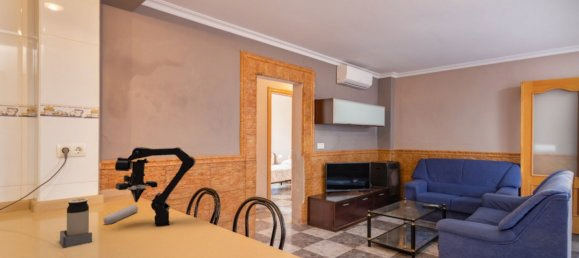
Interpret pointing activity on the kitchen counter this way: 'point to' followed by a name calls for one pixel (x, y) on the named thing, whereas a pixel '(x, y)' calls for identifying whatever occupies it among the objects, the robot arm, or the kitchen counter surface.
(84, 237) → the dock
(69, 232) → the travel mug
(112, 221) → the tube
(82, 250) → the kitchen counter surface
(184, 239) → the kitchen counter surface
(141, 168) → the robot arm
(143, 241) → the kitchen counter surface
